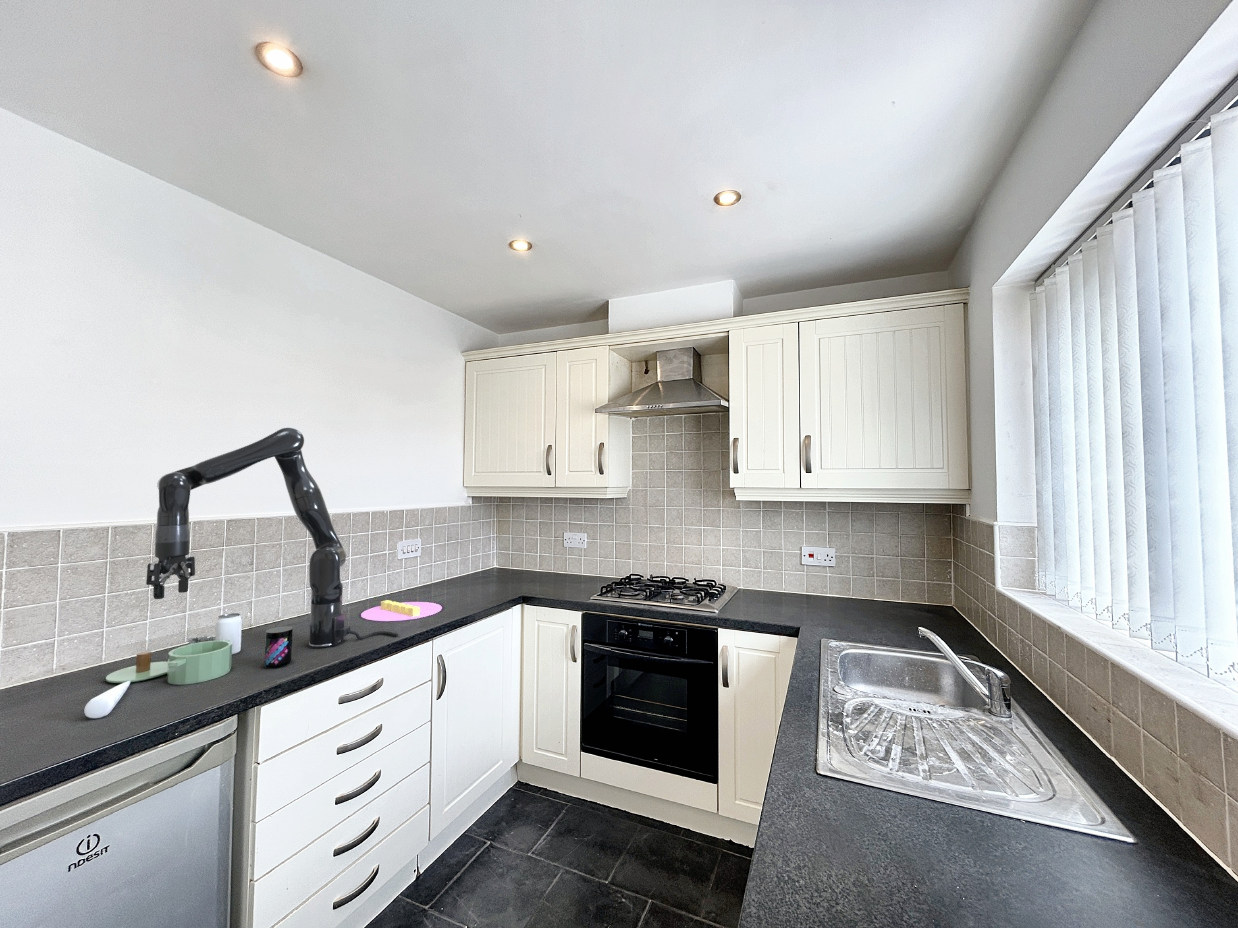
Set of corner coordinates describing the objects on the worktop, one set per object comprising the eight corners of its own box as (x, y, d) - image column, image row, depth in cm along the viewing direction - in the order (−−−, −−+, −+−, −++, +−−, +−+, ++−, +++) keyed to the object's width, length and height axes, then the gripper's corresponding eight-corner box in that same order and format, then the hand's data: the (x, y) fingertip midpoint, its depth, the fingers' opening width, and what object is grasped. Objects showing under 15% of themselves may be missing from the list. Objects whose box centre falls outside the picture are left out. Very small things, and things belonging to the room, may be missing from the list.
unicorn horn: (148, 680, 134) (149, 662, 134) (111, 717, 113) (112, 696, 113) (124, 683, 131) (125, 665, 132) (82, 721, 111) (83, 700, 111)
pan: (248, 662, 148) (249, 637, 148) (198, 688, 129) (200, 659, 129) (200, 663, 147) (202, 637, 147) (144, 689, 128) (145, 660, 128)
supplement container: (258, 667, 144) (259, 631, 144) (280, 659, 150) (281, 625, 151) (275, 669, 142) (277, 633, 143) (296, 661, 149) (298, 627, 149)
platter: (389, 625, 187) (390, 616, 187) (344, 613, 204) (345, 605, 204) (457, 608, 214) (458, 600, 214) (413, 598, 231) (413, 591, 231)
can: (226, 657, 152) (227, 618, 152) (209, 655, 153) (210, 617, 154) (245, 650, 158) (247, 613, 159) (229, 649, 159) (230, 612, 160)
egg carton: (223, 650, 158) (223, 637, 159) (192, 656, 153) (193, 643, 153) (215, 643, 165) (216, 630, 165) (186, 648, 160) (186, 636, 160)
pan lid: (190, 664, 146) (191, 643, 146) (147, 684, 131) (148, 661, 131) (139, 665, 145) (140, 644, 145) (89, 685, 130) (90, 662, 130)
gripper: (166, 542, 137) (164, 600, 136) (204, 537, 151) (203, 589, 151) (137, 543, 136) (135, 601, 136) (178, 537, 151) (177, 590, 150)
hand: (171, 595), depth 143 cm, fingers open, 8 cm apart
